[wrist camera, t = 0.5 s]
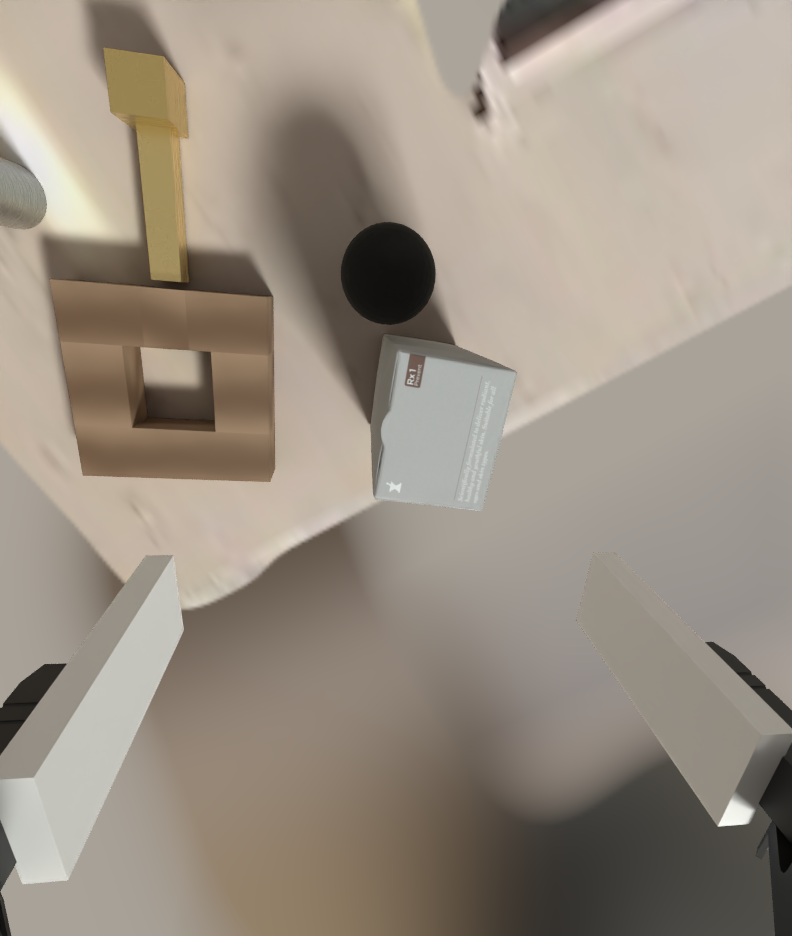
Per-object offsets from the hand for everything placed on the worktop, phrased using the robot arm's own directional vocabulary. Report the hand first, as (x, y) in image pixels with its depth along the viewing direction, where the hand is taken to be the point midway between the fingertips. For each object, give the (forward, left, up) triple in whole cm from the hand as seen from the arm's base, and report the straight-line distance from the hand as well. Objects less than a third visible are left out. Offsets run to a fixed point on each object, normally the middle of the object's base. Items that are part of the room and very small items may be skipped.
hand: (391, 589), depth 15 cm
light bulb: (-10, +1, -26) cm, 28 cm away
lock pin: (-14, -14, -26) cm, 33 cm away
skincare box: (-2, +4, -26) cm, 27 cm away
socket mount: (-1, -14, -26) cm, 30 cm away
